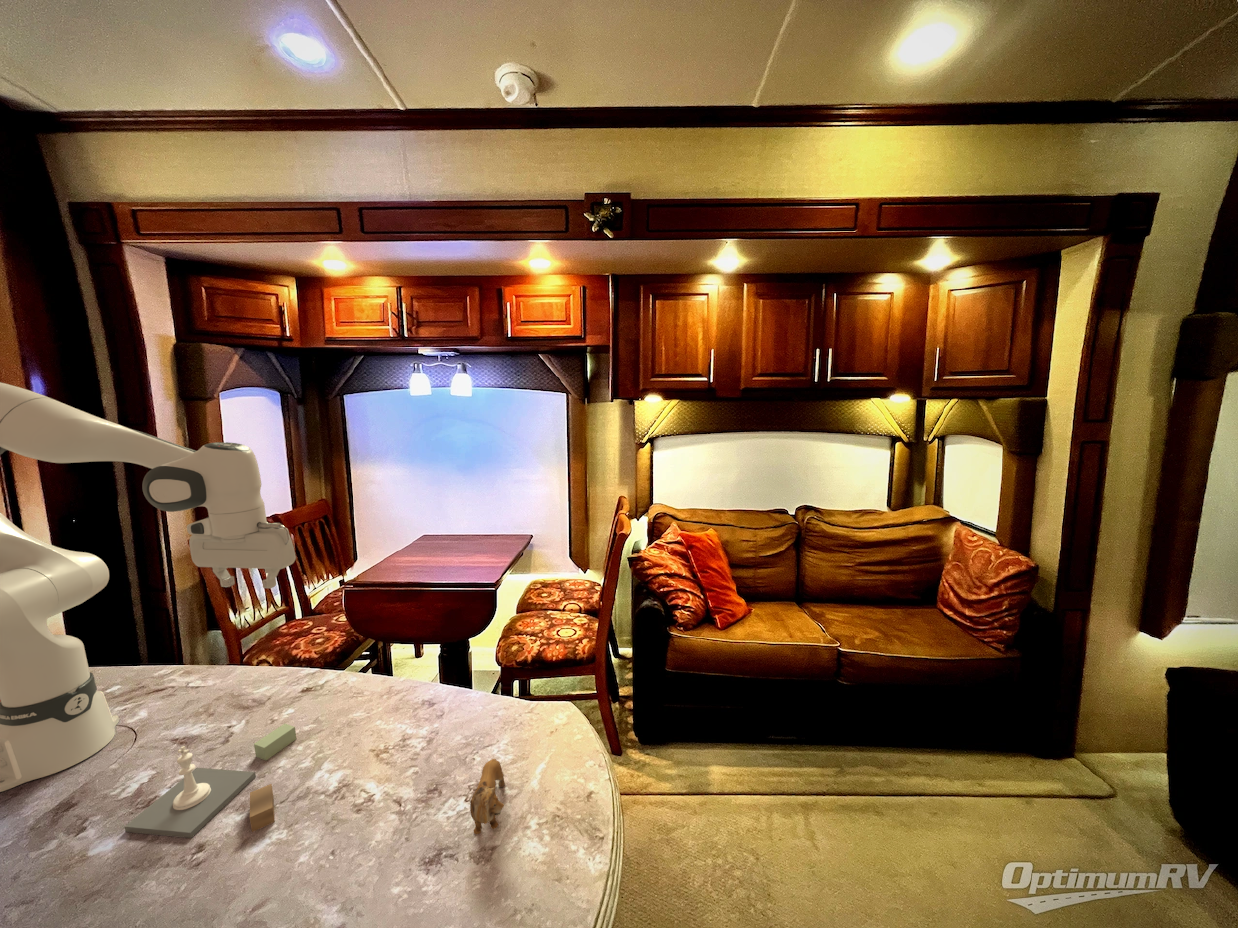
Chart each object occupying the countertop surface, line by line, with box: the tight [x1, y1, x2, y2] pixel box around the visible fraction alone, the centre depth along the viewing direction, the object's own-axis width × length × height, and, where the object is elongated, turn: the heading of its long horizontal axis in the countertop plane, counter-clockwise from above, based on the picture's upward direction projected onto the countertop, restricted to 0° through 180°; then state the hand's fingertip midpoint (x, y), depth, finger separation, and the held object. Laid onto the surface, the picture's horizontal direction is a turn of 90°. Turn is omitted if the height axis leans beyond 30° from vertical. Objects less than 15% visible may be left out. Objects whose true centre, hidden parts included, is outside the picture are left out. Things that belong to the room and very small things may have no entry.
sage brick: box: [253, 723, 297, 761], centre depth 94 cm, size 6×3×3 cm, turn 160°
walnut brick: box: [249, 783, 276, 833], centre depth 79 cm, size 6×3×3 cm, turn 38°
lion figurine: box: [469, 758, 506, 835], centre depth 78 cm, size 15×5×9 cm, turn 14°
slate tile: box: [124, 767, 257, 839], centre depth 81 cm, size 12×12×1 cm
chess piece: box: [173, 745, 211, 810], centre depth 80 cm, size 5×5×10 cm
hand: (248, 586), depth 96 cm, fingers open, 8 cm apart
